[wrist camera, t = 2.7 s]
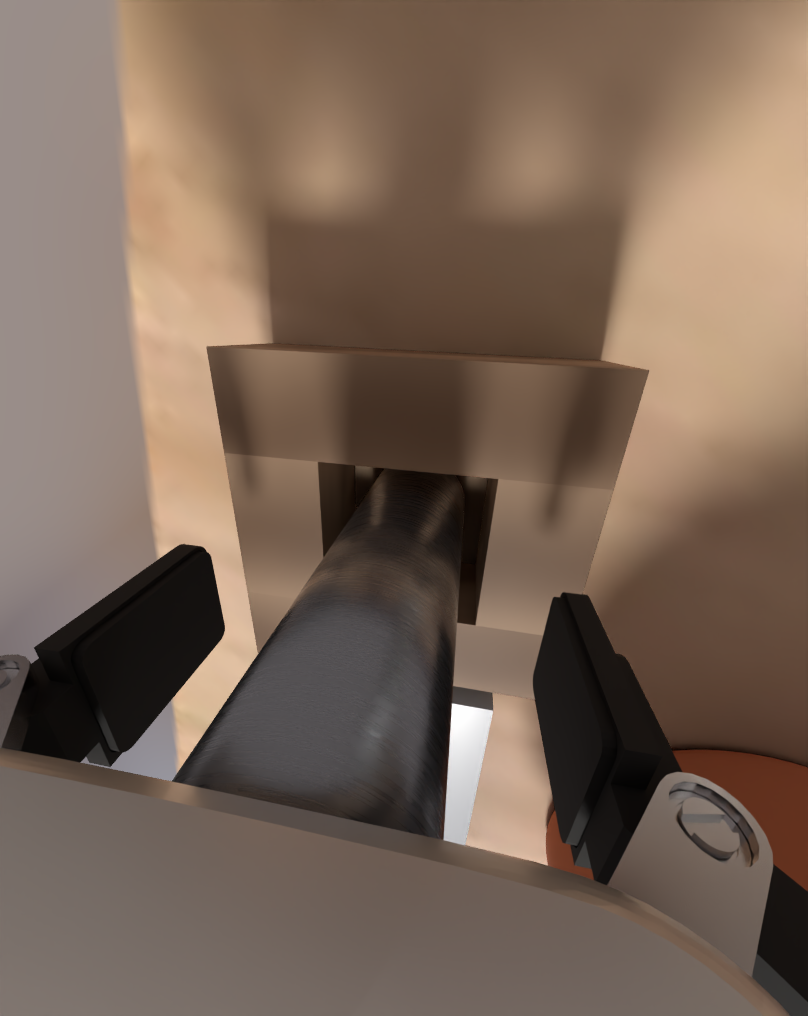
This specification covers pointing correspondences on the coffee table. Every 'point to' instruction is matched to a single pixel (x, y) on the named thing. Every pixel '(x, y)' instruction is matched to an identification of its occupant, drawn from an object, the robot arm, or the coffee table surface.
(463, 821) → the peg rack
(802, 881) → the potted cactus
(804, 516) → the coffee table surface
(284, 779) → the metal peg
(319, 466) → the socket block
